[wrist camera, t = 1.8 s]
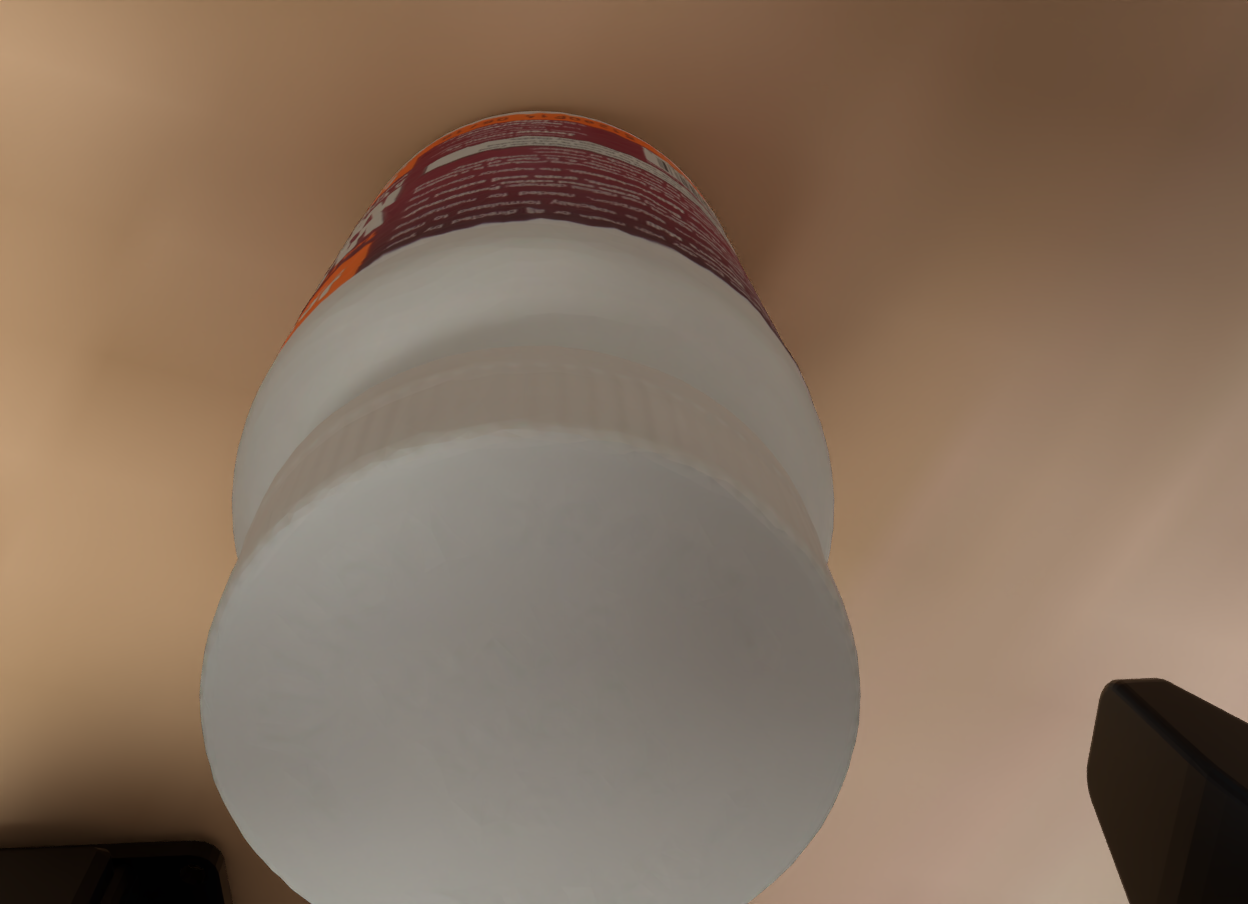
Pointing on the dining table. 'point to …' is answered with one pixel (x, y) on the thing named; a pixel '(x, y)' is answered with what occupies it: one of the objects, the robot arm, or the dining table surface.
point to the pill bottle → (532, 551)
